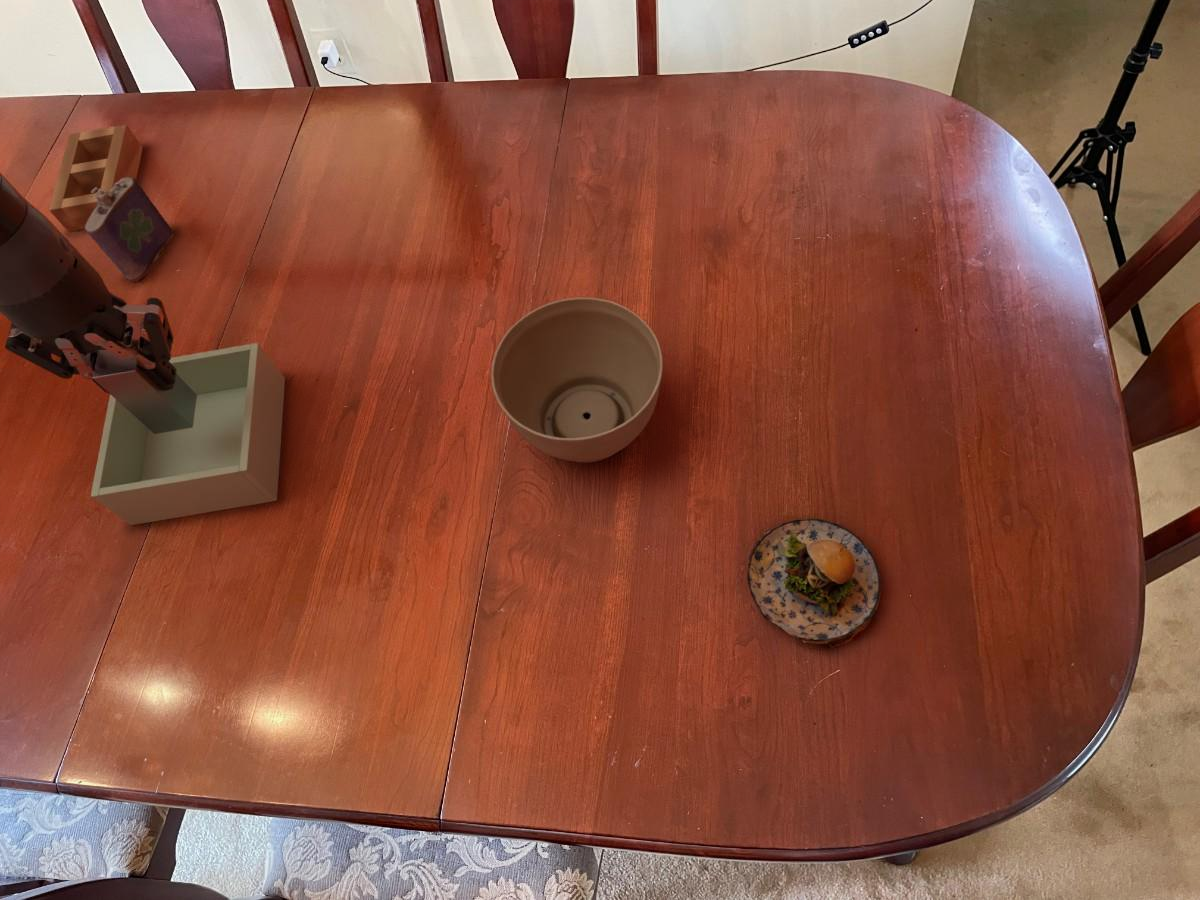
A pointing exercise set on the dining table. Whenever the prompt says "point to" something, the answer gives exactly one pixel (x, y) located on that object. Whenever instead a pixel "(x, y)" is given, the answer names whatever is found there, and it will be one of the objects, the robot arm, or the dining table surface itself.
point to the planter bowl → (578, 377)
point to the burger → (815, 581)
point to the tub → (198, 443)
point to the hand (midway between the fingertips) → (146, 386)
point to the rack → (92, 171)
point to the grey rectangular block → (146, 394)
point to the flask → (128, 228)
